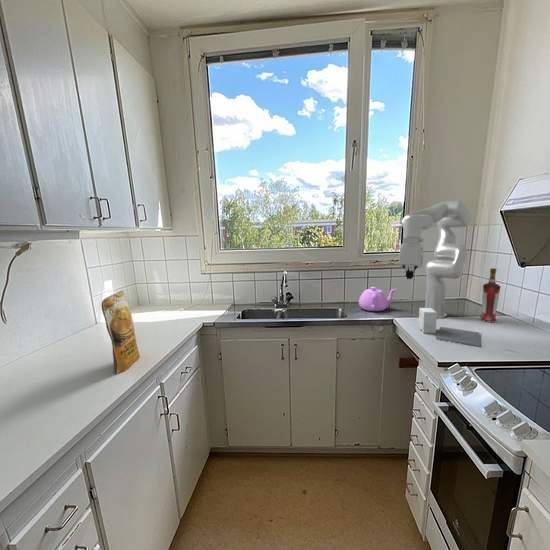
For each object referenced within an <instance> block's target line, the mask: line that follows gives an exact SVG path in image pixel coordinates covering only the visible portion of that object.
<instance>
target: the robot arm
mask: <svg viewBox="0 0 550 550" xmlns="http://www.w3.org/2000/svg"><path fill="white" fill-rule="evenodd" d="M472 221H473V216H472V213H471V211H470V210H469V208H468V206H467V205H466V204H465V203H464V202H463V201H461V200H452V201H451V200H450V201H449V200H448V201H440V202H438V203H437V204H434V205H432V206H430V207H428V208H423V209H421V210H417V211H413V212H410V213H408V214H406V215H405V216H404V217H403V218H402V220H401V227H402V228H403V234H402V235H403V237H402V243H401V245H400V248H399V255H398V264H397V266H398V267H401V268H403V270H404V271H405V278H406V279H407V280H412V279H413V278H414V275H415V274H414V273H415V271H416V269H419V268H422V267H424V265H423V260H424V252H423V251H424V249H423V244H422V243H423V242H424V240H425V239H424V238H421V236H422V235H421V234H422V231H429V230H430V229H432V228H433V226H434V224H436V226H437V230H438V235H439V236H438V239H437V243H436V245H435V248H434V251H433V256H434V257H435V258H436V259H432V260H429V261H427V263H426V265H425V273H426V288H425V289H426V290H425V304H424V308H432V309H433V310H434V311H435V312H437V319H444V318H446V317H448V314H447V313H446V312H445V302H446V289H447V287H446V286H447V284H446V282H445V280H444V279H450V280H452V279H453V280H456V279H459V278H461V276H462V274H463V270H464V268H465V264H466V261H467V257H468V253H469V252H468V246H467V245H466V244H464V243H456V240H457V235H456V234H455V232H454V231H453V230H452V228H467V227H469V226H470V225H471V224H472ZM410 265H411V269H410ZM443 278H444V279H443Z"/></svg>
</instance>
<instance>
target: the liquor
mask: <svg viewBox="0 0 550 550" xmlns="http://www.w3.org/2000/svg"><path fill="white" fill-rule="evenodd" d="M497 270H498V269H497V268H495V267H492V268H489V277H488V283H487V282H486V283H484V284H483V285H482V297H481V298H482V301H481V302H482V305H481V316H480V319H481V320H482V321H483V320H485V321H484V322H486V321H491V322H490V323H493V322H495V321H497V318H496V317H497V310H498V309H497V308H498V304H499V303H498V302H499V298H500V297H499V296H500V292H501V286H500V285H499V284H497V282H496V274H497ZM492 321H493V322H492Z"/></svg>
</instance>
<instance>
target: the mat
mask: <svg viewBox="0 0 550 550" xmlns="http://www.w3.org/2000/svg"><path fill="white" fill-rule="evenodd" d="M436 339H440V340H439V341H442V340H445V341H444V342H448V341H451V342H450V343H453V342H455V343H454V344H459V343H460V345H465V346H469V347H472V346H473V347H477V348H481V344H480V332H477V331H471V330H464V329H458V328H452V327H446V326H439V329H438V331H437V334H436V338H435V340H436Z"/></svg>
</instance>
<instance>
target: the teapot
mask: <svg viewBox="0 0 550 550" xmlns="http://www.w3.org/2000/svg"><path fill="white" fill-rule="evenodd" d="M396 290H397V288H393V289H391V290H390V291H389V295H388V297H386V296H387V295H385V293H384V292H383V290H381V289H377V287H376V286H371V287H370V288H368V289H364V290H363V292H362V294H361V295H360V296H359V300H358V305H359V307H360V308H361V309H362V310H365V311H369V312H382V311H385V310H386V309H387V307H388V306H389V304H391V303H392V300H393V294H394V292H395V291H396Z"/></svg>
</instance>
